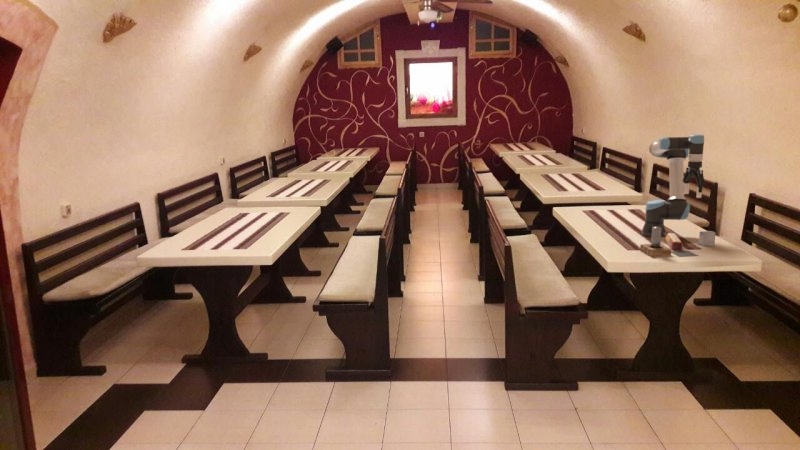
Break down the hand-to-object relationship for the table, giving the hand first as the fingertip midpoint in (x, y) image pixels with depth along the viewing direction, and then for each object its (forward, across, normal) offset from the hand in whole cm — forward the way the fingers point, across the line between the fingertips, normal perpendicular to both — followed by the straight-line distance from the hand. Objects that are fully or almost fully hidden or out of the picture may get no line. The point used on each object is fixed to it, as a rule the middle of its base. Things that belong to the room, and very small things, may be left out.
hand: (692, 195), depth 350 cm
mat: (+33, +13, -10) cm, 37 cm away
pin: (+33, +8, -25) cm, 42 cm away
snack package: (+33, -4, -7) cm, 34 cm away
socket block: (+33, +8, -25) cm, 42 cm away
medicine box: (+33, -4, +14) cm, 36 cm away
